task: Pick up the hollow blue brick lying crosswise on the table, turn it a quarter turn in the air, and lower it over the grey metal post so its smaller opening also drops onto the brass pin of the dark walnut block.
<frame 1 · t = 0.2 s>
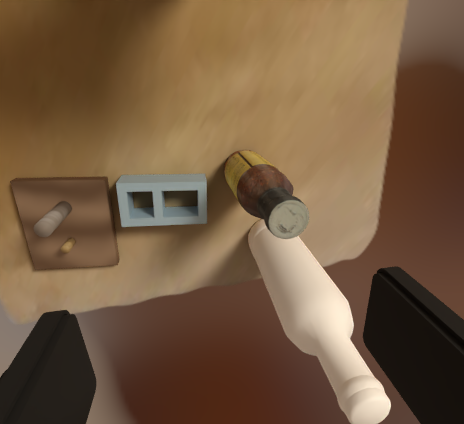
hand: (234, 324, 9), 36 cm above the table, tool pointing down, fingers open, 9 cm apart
post block: (71, 222, 44), on the table
sauce bottle: (243, 167, 45), on the table
hollow blue brick: (165, 194, 45), on the table
bottle: (269, 235, 51), on the table
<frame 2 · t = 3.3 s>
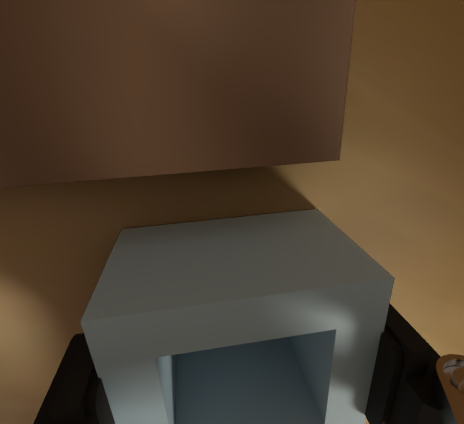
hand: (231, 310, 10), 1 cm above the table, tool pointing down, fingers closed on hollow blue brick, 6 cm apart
hollow blue brick: (231, 353, 12), on the table, touching gripper
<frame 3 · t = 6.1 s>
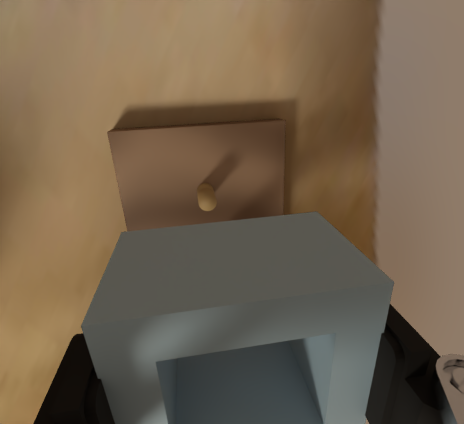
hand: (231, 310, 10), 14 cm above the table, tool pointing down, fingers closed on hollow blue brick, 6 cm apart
post block: (206, 213, 24), on the table
hollow blue brick: (231, 355, 12), point 13 cm above the table, touching gripper
when the fingers open (4 cm above the table, at t = 8.8 s): hollow blue brick drops 1 cm, resting on post block.
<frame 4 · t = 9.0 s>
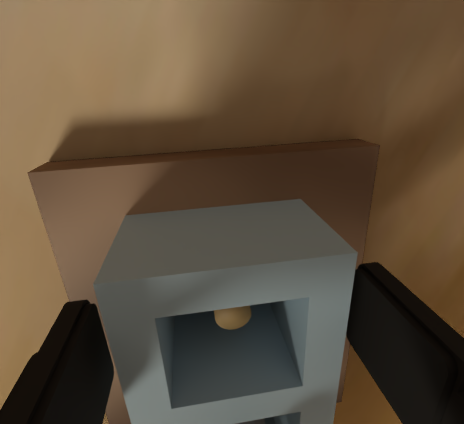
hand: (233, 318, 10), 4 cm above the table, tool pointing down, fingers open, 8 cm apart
post block: (222, 295, 14), on the table
hollow blue brick: (224, 332, 13), point 1 cm above the table, touching post block
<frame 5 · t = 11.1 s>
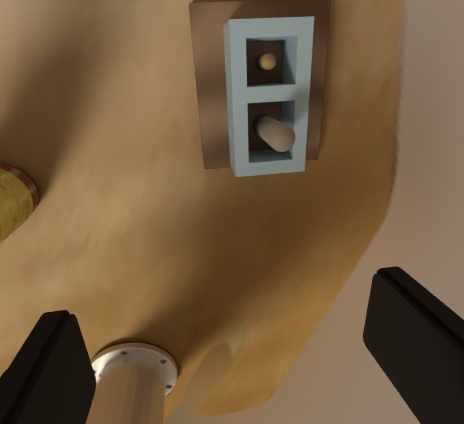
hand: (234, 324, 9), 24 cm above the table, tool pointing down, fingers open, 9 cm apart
post block: (258, 90, 29), on the table
sauce bottle: (8, 191, 30), on the table
hollow blue brick: (260, 100, 28), point 1 cm above the table, touching post block
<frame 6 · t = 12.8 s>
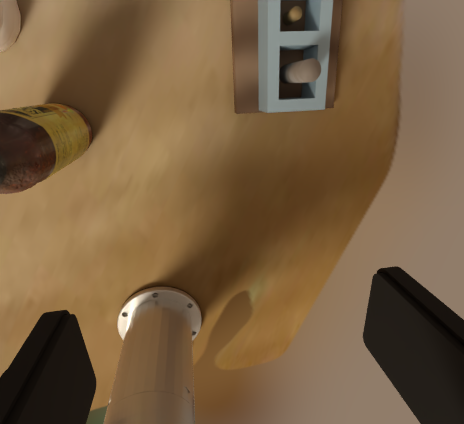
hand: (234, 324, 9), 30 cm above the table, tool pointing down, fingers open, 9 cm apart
post block: (283, 46, 34), on the table
sauce bottle: (65, 131, 34), on the table
hollow blue brick: (286, 52, 33), point 1 cm above the table, touching post block
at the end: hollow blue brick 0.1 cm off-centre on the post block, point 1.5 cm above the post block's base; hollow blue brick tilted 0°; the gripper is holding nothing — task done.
